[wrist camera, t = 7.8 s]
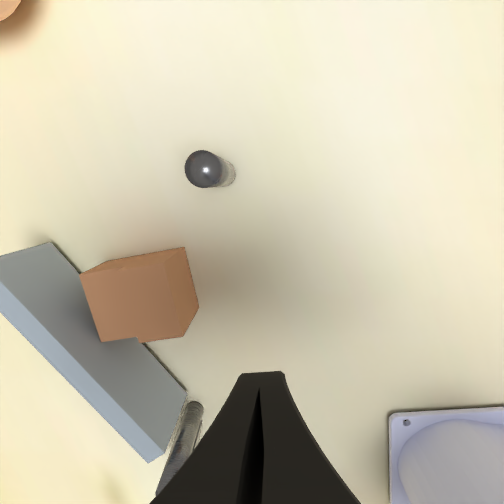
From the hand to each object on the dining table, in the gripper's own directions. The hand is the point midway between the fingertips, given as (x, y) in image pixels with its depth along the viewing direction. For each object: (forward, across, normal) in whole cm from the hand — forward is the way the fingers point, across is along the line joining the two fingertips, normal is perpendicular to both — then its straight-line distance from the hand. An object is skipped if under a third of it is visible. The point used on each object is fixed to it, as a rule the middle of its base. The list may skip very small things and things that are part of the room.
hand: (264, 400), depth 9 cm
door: (+9, +10, +2) cm, 14 cm away
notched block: (+10, +7, -1) cm, 12 cm away
